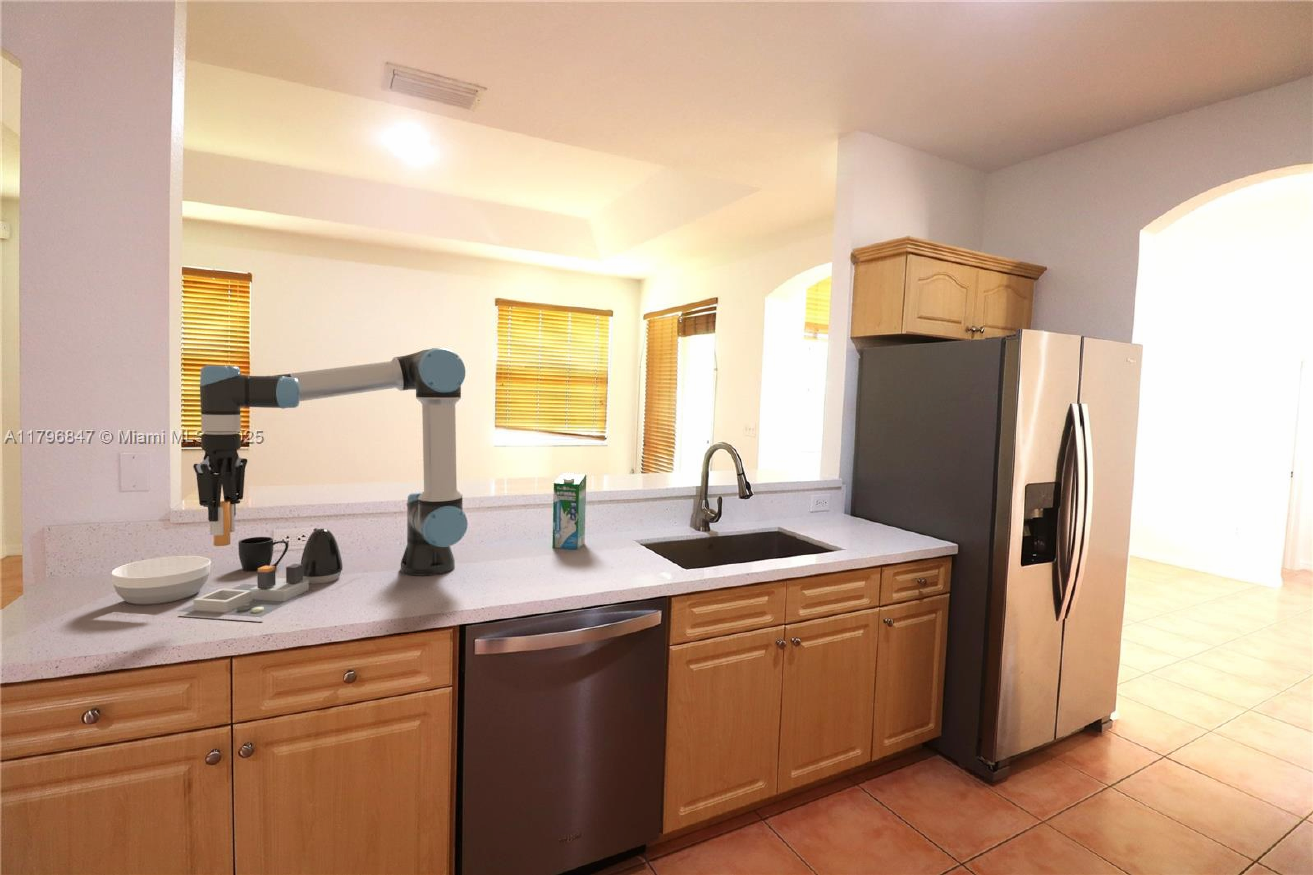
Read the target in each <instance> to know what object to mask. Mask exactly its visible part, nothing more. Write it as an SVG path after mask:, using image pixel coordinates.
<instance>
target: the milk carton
mask: <svg viewBox="0 0 1313 875" xmlns="http://www.w3.org/2000/svg"><path fill="white" fill-rule="evenodd" d="M552 500H553V502H552V503H553V505H552V549H553V548H554V549H556V548H557V549H563V550H564V549H566V550H567V549H568V550H579V548H581V547H582V546H583V545H584V544H585V542H586V541H585V540H586V539H585V538H586V537H585V536H586V510H587V508H586V505H587V504H586V500H587V474H585V473H584V474H581V473H564V472H563V473H561V474H560V476H559V477H557V479H556V480H555V481H554V482H553V499H552Z"/></svg>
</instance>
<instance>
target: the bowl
mask: <svg viewBox="0 0 1313 875" xmlns="http://www.w3.org/2000/svg"><path fill="white" fill-rule="evenodd" d="M211 566H212V561H211V559H210V558H208V557H204V556H198V555H176V556H175V555H174V556H173V555H172V556H171V555H170V556H160V557H156V558H147V559H142V560H137V561H132V562H130V563H127V564H126V563H125V564H123V565H120V566H118V567H115V568H114V569H113V570H112V571H111V574H110V575H111V582H112V585H113V587H114V590H115V593H116V594H117V595H118V596H119V597H121V599H122V600H123V601H124V602H127V603H130V604H133V605H146V606H147V605H159V604H166V603H172V602H177V601H180V600H184V599H187V598H189V597H191V596H194V595H195V594H197V593H198V592H200V591H201V590H202V589H203V587H204V585H205V584H206V583H207V581H208V580H209V576H210V572H211Z"/></svg>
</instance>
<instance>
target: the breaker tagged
mask: <svg viewBox="0 0 1313 875" xmlns="http://www.w3.org/2000/svg"><path fill="white" fill-rule="evenodd" d="M256 573H257V575H256V577H257V580H256V581H257V582H256V583H257V584H256V585H258V588H261V589H268V588H270V587H272V586H274V585H276V578H277V577H276V567H275V566H272V565H270V566H263V567H260V568H258V571H256Z"/></svg>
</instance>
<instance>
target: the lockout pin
mask: <svg viewBox="0 0 1313 875" xmlns="http://www.w3.org/2000/svg"><path fill="white" fill-rule="evenodd" d="M219 507H223V535H213V546H214V547H223V546H224V547H225V546H229V545H231V532H230V501H224V500H220V506H219Z"/></svg>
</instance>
